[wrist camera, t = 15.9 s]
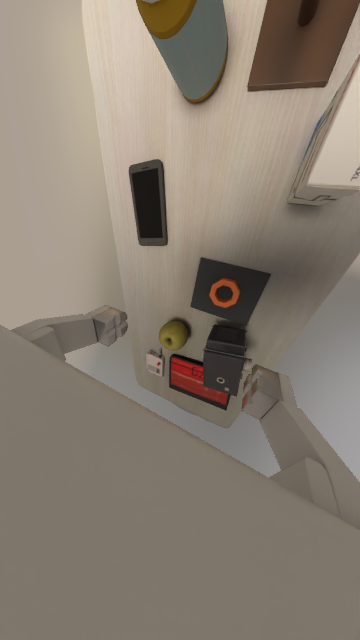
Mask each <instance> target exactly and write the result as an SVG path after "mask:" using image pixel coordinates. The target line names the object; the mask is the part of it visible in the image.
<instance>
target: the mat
mask: <svg viewBox="0 0 360 640" xmlns="http://www.w3.org/2000/svg"><path fill="white" fill-rule="evenodd" d="M270 275H271V274H268V273H264V272H259V271H255V270H251V269H247V268H243V267H239V266H234V265H230V264H226V263H222V262H218V261H213V260H209V259H205V258H201V259H200V264H199V269H198V274H197V278H196V283H195V288H194V293H193V297H192V302H191V307H192V308H195V309H198V310H201V311H204V312H207V313H210V314H213V315H216V316H219V317H222V318H225V319H228V320H231V321H234V322H237V323H240V324H243V325H247V323H248V321H249V319H250V317H251V315H252V313H253V310H254V308H255V306H256V304H257V302H258V300H259V298H260V296H261V294H262V292H263V290H264V288H265V285H266V283H267V281H268V279H269V277H270ZM222 278H228V279H231V280H235V281H236V283H237V285H238V287H239V289H240V294H239V296H238V299H237V301H236V303H235V304H233V305H231V306H229V307H226V308H224V307H221V306H218V305H215V304H214V302H213V301H212V299H211V297H210V291H211V288H212V285H213V284H214V283H215V282H217V281H218V280H220V279H222ZM216 293H217V295H218V296H219V298H221V299H224V300H227V299H229V298H232V296H233V294H234V293H233V291H232V289H231V288H230V287H228V286H224V285H222V286H221V287H219V288H218V289H217V292H216Z"/></svg>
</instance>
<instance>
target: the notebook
mask: <svg viewBox="0 0 360 640" xmlns="http://www.w3.org/2000/svg"><path fill="white" fill-rule="evenodd" d="M169 387H170V388H172V389H174V390H177V391H179V392H182V393H184V394H187V395H189V396H192V397H194V398H197V399H199V400H202V401H204V402H207V403H209V404H211V405H214V406H216V407H219V408H221V409H224V410H227V406H228V402H229V399H230V394H227V393H224V392H220V391H217V390H214V389H210V388H207V387H204V386H203V362H200V361H197V360H193V359H190V358H186V357H183V356H179V355H172V356H171V357H170V370H169Z"/></svg>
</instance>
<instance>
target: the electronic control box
mask: <svg viewBox="0 0 360 640" xmlns="http://www.w3.org/2000/svg"><path fill="white" fill-rule="evenodd" d="M146 360H147V370H148V371H150V372H152V373H154V374H156V375H159V376H161V377H163V376H164V360H165V358H164V357H163V356H162V355H161V352H160V351H159V354H157V353H155V352H152V351H149V352H148V353H147V354H146Z"/></svg>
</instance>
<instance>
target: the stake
mask: <svg viewBox="0 0 360 640" xmlns="http://www.w3.org/2000/svg"><path fill="white" fill-rule="evenodd" d="M359 3H360V0H267V5H266V9H265V13H264V17H263V22H262V26H261V30H260V35H259V39H258V43H257V47H256V52H255V56H254V60H253V65H252V69H251V73H250V77H249V82H248V86H247V87H248V91H254V90H271V89H287V88H304V87H320V86H326V84H327V82H328V80H329V77H330V75H331V72H332V70H333V67H334V65H335V62H336V60H337V57H338V55H339V52H340V50H341V47H342V45H343V43H344V40H345V38H346V35H347V33H348V30H349V28H350V25H351V23H352V20H353V18H354V15H355V13H356V10H357V8H358V5H359Z"/></svg>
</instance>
